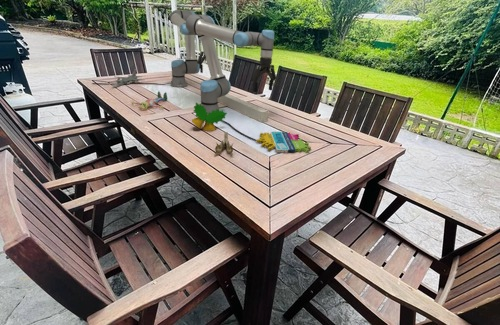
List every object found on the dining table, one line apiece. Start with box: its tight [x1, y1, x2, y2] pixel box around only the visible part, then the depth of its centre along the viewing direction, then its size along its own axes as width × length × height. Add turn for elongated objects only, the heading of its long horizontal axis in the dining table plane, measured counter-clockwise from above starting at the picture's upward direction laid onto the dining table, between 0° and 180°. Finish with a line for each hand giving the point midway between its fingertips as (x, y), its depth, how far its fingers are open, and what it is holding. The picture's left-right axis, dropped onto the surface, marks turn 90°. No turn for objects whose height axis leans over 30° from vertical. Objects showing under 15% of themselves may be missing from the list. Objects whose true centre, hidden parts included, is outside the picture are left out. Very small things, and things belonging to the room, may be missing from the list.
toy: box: [130, 91, 168, 111], centre depth 196 cm, size 28×7×30 cm
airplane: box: [110, 68, 145, 89], centre depth 248 cm, size 38×31×10 cm
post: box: [218, 93, 269, 123], centre depth 206 cm, size 77×6×7 cm, turn 39°
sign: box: [255, 131, 312, 154], centre depth 152 cm, size 26×2×30 cm
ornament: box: [191, 102, 228, 132], centre depth 162 cm, size 21×8×15 cm, turn 105°
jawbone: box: [214, 131, 234, 156], centre depth 136 cm, size 9×15×10 cm
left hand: (208, 72), depth 220 cm, fingers open, 13 cm apart
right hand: (262, 91), depth 175 cm, fingers open, 13 cm apart
